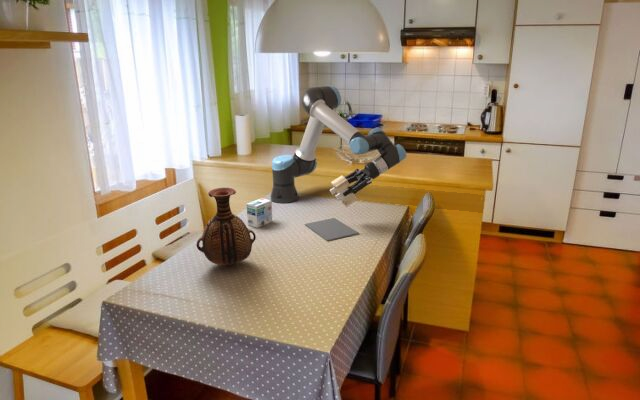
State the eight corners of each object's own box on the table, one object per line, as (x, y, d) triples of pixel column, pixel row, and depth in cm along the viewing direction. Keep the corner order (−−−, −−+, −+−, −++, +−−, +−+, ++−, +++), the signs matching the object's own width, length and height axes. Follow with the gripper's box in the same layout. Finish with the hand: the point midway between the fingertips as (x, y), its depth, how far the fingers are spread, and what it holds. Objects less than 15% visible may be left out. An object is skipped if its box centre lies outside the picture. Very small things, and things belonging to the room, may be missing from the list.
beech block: (341, 201, 219) (330, 182, 213) (352, 195, 220) (341, 175, 214) (346, 207, 214) (335, 186, 208) (357, 199, 215) (347, 179, 208)
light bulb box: (257, 228, 217) (256, 206, 213) (247, 225, 221) (245, 203, 217) (273, 221, 225) (272, 200, 221) (263, 218, 229) (261, 197, 225)
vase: (258, 254, 189) (253, 183, 180) (254, 275, 172) (248, 197, 163) (205, 256, 189) (197, 184, 179) (195, 277, 172) (186, 199, 162)
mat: (304, 225, 219) (304, 223, 219) (334, 218, 226) (334, 217, 226) (327, 241, 201) (327, 240, 201) (358, 234, 208) (358, 232, 208)
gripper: (388, 181, 209) (345, 209, 207) (369, 167, 225) (329, 193, 223) (382, 168, 205) (338, 197, 203) (363, 155, 221) (322, 181, 219)
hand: (333, 195), depth 213 cm, fingers closed on beech block, 6 cm apart
